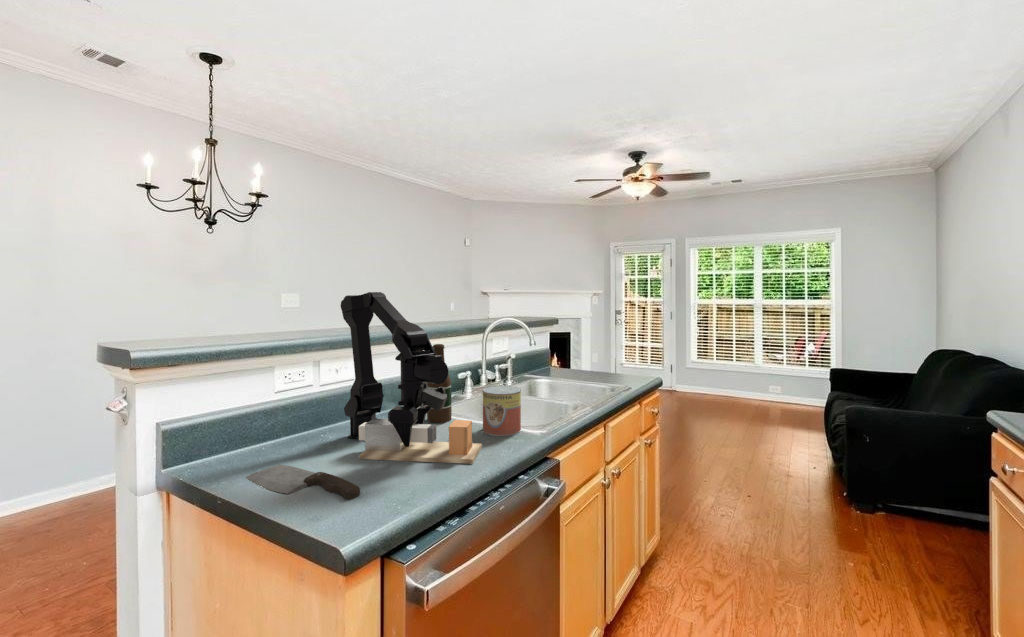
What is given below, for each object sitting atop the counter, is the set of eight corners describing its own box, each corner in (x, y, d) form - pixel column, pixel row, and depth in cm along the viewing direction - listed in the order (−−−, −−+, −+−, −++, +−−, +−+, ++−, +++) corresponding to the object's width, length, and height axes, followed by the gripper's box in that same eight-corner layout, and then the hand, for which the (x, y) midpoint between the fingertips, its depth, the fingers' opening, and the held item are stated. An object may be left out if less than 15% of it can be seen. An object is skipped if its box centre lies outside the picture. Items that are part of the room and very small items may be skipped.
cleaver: (370, 492, 98) (369, 482, 98) (331, 511, 89) (330, 500, 89) (278, 468, 112) (278, 459, 112) (237, 482, 104) (236, 473, 104)
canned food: (476, 433, 137) (476, 392, 137) (491, 423, 148) (491, 384, 147) (513, 437, 133) (513, 395, 133) (526, 427, 144) (526, 387, 143)
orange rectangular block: (449, 454, 117) (448, 426, 117) (454, 446, 123) (454, 420, 123) (467, 454, 116) (467, 427, 116) (472, 446, 122) (471, 420, 122)
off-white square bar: (358, 440, 121) (358, 426, 121) (365, 436, 124) (364, 422, 124) (432, 443, 119) (432, 428, 118) (436, 438, 122) (436, 424, 122)
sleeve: (365, 450, 120) (364, 424, 120) (373, 443, 125) (373, 418, 125) (400, 451, 119) (399, 425, 118) (407, 444, 124) (406, 419, 124)
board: (359, 458, 117) (359, 454, 117) (378, 443, 129) (378, 439, 128) (472, 463, 113) (472, 459, 113) (481, 447, 125) (481, 443, 125)
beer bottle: (456, 419, 152) (456, 344, 150) (436, 424, 146) (436, 346, 145) (441, 415, 157) (440, 342, 156) (421, 420, 152) (420, 344, 150)
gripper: (433, 387, 110) (433, 454, 111) (452, 373, 128) (453, 431, 129) (386, 386, 111) (387, 452, 112) (412, 372, 130) (413, 429, 131)
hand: (413, 440), depth 121 cm, fingers open, 9 cm apart
